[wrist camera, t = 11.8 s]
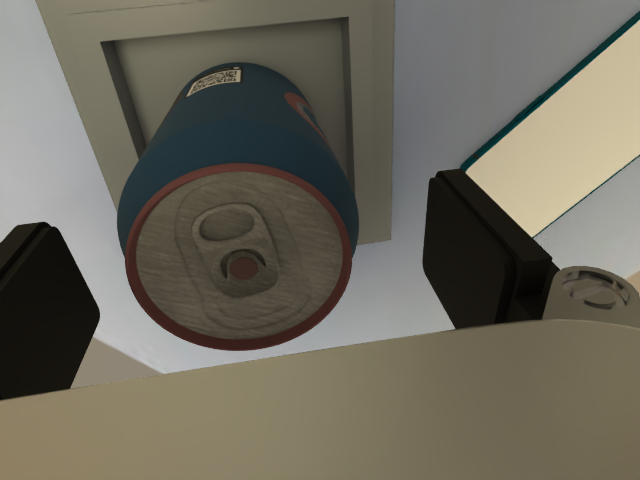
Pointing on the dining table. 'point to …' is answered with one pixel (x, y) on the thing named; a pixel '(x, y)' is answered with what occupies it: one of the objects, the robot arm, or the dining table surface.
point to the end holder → (226, 47)
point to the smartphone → (567, 137)
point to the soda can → (238, 214)
